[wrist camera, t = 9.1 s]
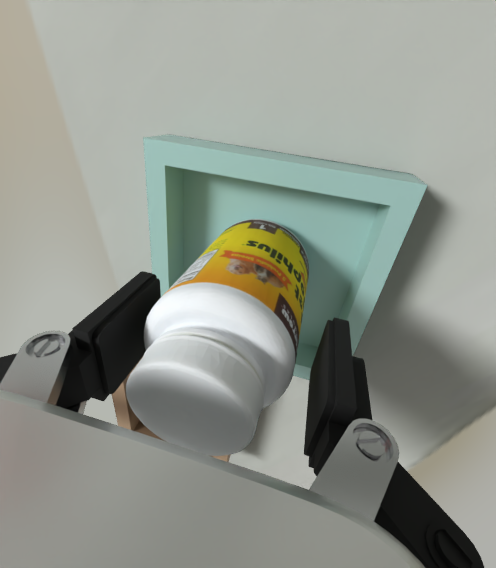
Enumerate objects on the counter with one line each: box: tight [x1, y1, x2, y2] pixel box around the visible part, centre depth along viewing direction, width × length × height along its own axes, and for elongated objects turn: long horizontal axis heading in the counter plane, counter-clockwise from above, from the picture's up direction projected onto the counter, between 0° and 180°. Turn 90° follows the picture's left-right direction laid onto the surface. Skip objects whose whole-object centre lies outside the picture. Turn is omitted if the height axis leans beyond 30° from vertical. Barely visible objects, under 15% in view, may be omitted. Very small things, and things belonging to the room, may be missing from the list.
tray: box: [143, 135, 427, 380], centre depth 16 cm, size 12×12×2 cm
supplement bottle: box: [126, 219, 309, 456], centre depth 12 cm, size 6×6×10 cm
